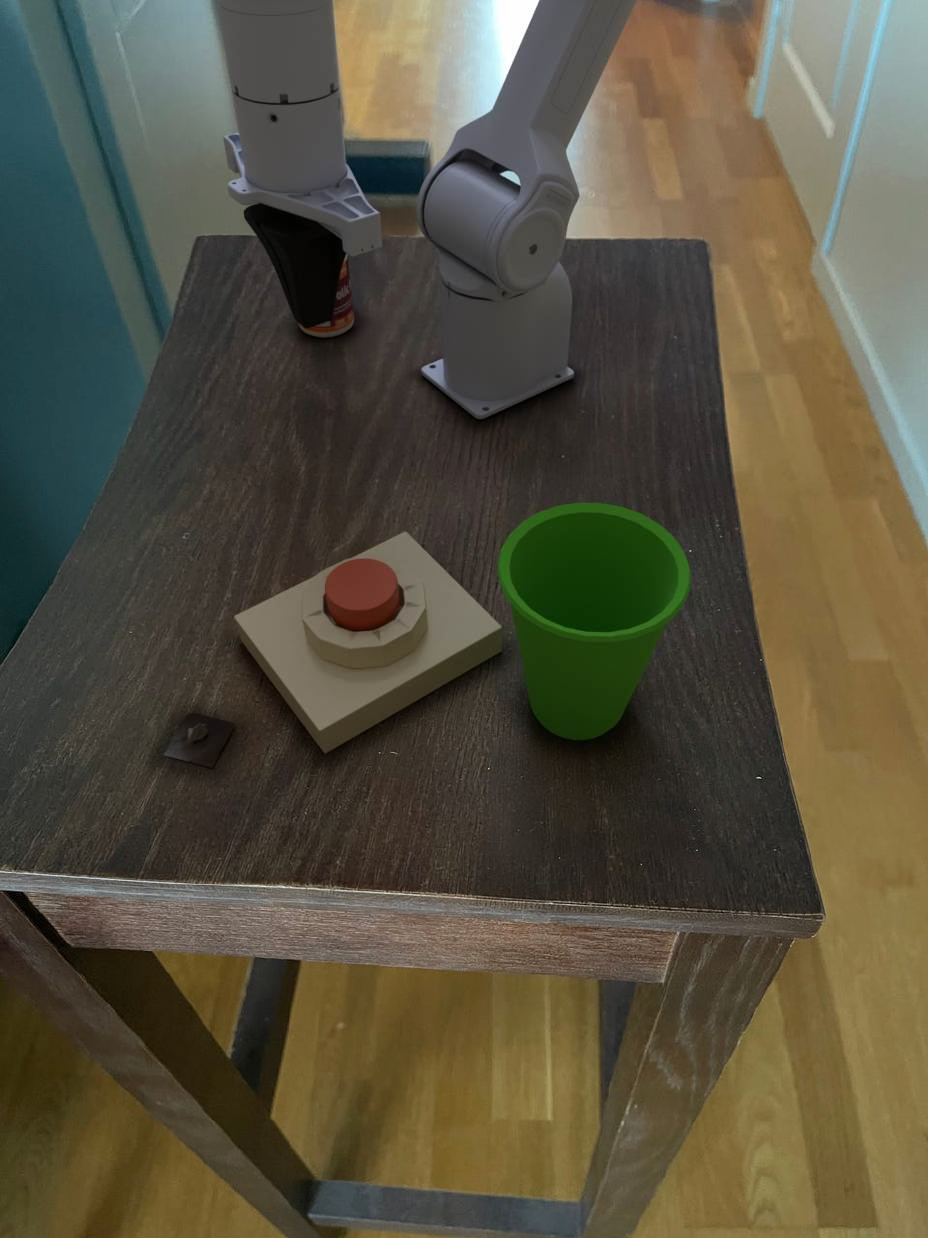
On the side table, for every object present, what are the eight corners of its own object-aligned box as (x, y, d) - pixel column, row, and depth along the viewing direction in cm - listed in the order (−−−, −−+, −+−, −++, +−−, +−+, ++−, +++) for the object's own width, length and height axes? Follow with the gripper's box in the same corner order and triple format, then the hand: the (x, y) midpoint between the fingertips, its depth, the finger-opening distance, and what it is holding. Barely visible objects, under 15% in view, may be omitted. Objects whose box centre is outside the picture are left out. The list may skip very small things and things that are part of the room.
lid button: (375, 569, 53) (372, 547, 52) (413, 610, 51) (411, 588, 50) (315, 599, 52) (311, 578, 50) (352, 643, 50) (348, 621, 48)
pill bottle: (346, 341, 76) (333, 243, 70) (291, 336, 77) (274, 238, 70) (361, 311, 79) (351, 215, 73) (309, 306, 80) (294, 210, 73)
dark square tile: (212, 768, 49) (205, 757, 48) (163, 755, 49) (156, 744, 48) (235, 723, 50) (230, 712, 49) (188, 711, 51) (181, 699, 50)
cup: (540, 621, 55) (550, 479, 47) (682, 680, 52) (720, 539, 44) (465, 728, 50) (461, 591, 42) (617, 801, 47) (646, 668, 39)
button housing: (408, 555, 59) (403, 509, 56) (502, 651, 54) (503, 605, 51) (240, 640, 55) (226, 594, 52) (324, 754, 49) (314, 711, 46)
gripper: (158, 63, 51) (206, 292, 61) (286, 145, 43) (317, 392, 53) (271, 41, 54) (299, 263, 64) (410, 114, 46) (417, 354, 56)
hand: (314, 319), depth 59 cm, fingers closed
